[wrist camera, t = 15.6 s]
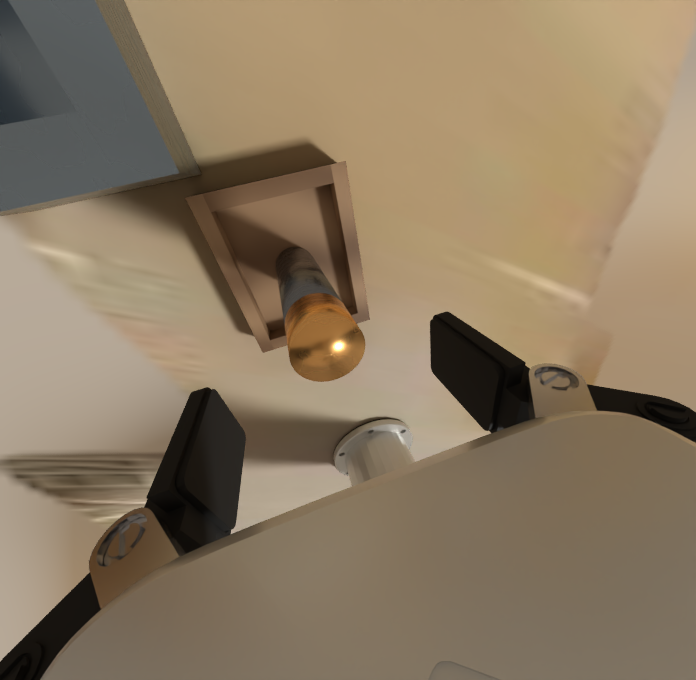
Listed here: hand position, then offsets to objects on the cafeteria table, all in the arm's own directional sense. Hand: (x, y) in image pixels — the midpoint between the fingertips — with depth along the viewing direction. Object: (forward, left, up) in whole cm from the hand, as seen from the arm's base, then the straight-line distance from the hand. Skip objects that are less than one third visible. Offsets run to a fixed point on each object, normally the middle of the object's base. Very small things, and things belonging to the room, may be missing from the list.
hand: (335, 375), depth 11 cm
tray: (+1, 0, -13) cm, 13 cm away
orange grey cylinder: (+1, 0, -12) cm, 12 cm away
